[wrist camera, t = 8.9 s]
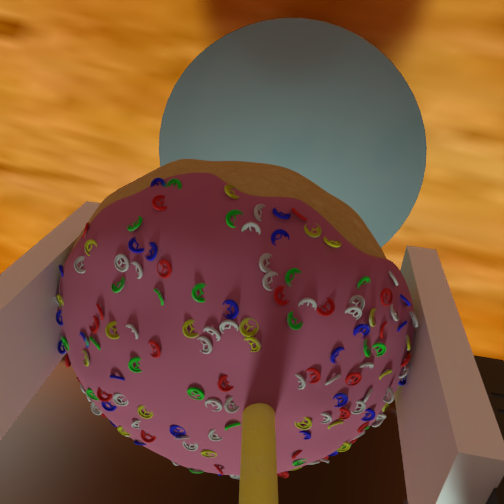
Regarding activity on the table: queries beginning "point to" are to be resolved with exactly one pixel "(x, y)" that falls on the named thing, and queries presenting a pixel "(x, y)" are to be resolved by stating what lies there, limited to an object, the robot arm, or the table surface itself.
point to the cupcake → (234, 320)
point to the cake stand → (305, 114)
